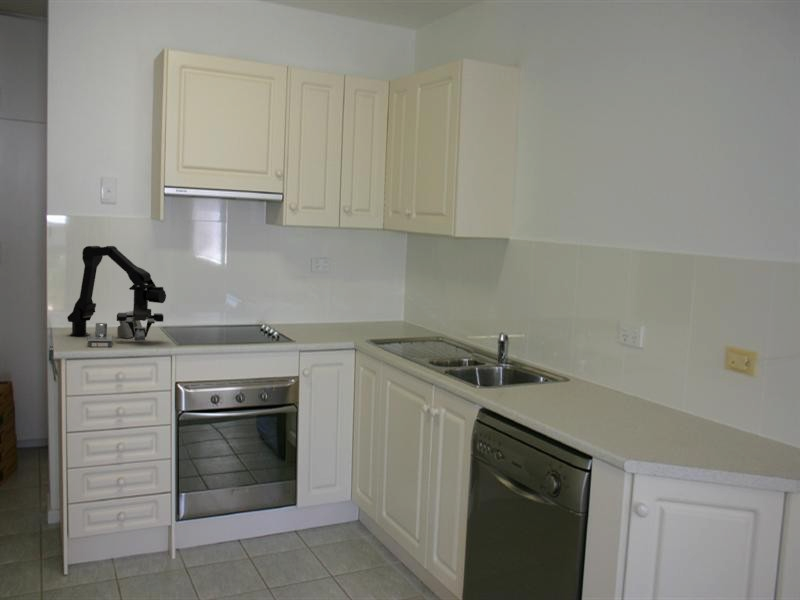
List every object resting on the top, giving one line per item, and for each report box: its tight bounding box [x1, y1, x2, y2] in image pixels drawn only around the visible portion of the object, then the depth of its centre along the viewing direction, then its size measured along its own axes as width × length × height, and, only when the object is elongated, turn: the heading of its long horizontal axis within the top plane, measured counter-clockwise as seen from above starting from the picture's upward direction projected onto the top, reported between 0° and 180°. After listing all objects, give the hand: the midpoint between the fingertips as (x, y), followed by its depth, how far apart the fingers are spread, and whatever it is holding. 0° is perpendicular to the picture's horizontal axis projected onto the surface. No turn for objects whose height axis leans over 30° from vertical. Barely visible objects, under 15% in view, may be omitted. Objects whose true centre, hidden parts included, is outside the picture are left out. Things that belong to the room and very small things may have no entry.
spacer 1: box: [94, 322, 108, 337], centre depth 306 cm, size 4×4×5 cm
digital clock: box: [116, 310, 143, 339], centre depth 329 cm, size 16×9×11 cm, turn 165°
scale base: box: [87, 338, 114, 348], centre depth 304 cm, size 10×9×2 cm
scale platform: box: [87, 334, 114, 342], centre depth 304 cm, size 10×9×1 cm
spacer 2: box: [133, 326, 146, 341], centre depth 315 cm, size 4×4×5 cm
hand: (139, 337), depth 315 cm, fingers closed on spacer 2, 4 cm apart
